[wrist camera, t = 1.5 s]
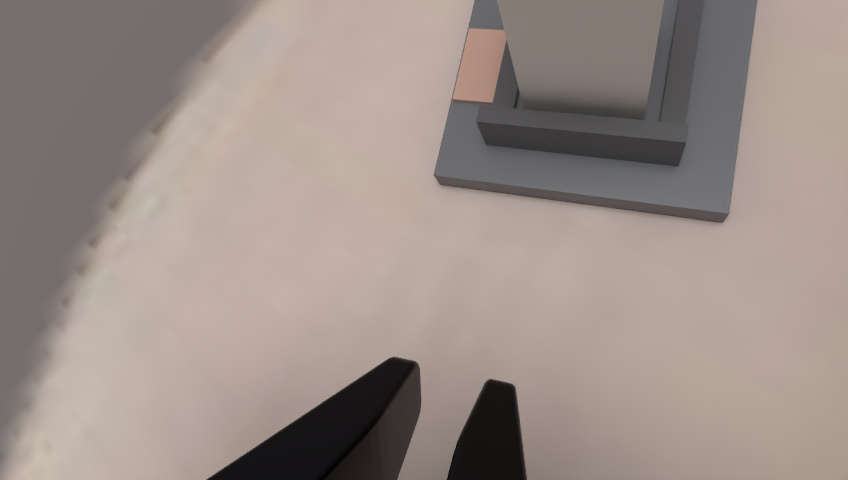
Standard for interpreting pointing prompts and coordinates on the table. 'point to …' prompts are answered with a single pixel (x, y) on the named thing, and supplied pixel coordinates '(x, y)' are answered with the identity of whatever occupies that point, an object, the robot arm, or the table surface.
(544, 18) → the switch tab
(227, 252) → the table surface
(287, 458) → the robot arm
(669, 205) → the switch board
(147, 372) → the table surface
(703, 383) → the table surface
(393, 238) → the table surface
